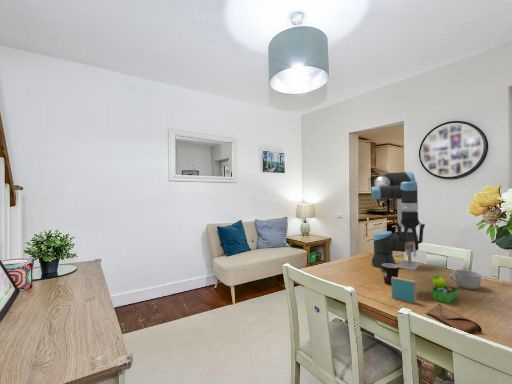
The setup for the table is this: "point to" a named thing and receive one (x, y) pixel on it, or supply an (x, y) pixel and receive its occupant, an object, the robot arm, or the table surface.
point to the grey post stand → (408, 263)
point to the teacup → (466, 279)
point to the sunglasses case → (454, 319)
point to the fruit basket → (443, 290)
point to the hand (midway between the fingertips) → (410, 255)
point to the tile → (403, 289)
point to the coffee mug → (389, 272)
